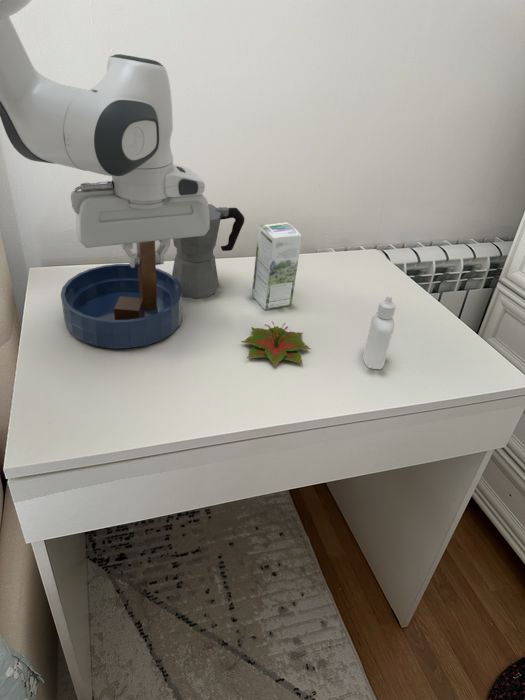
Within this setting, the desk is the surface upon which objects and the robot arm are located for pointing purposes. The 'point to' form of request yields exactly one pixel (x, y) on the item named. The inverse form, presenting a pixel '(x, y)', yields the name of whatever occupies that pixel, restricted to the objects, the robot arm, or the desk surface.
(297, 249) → the syrup box
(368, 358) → the eye dropper bottle
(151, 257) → the stick
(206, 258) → the coffeepot
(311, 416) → the desk surface
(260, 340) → the lily flower
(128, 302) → the block
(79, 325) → the bowl
